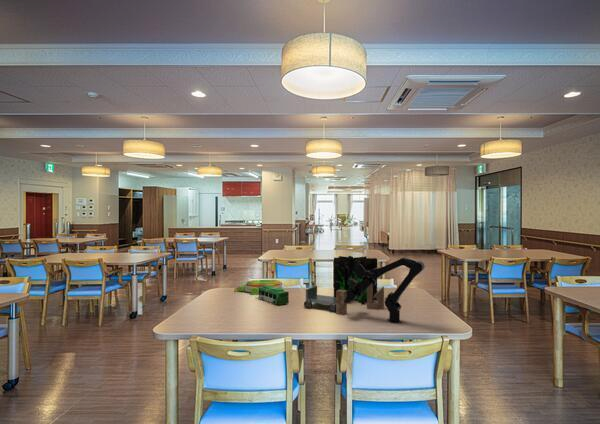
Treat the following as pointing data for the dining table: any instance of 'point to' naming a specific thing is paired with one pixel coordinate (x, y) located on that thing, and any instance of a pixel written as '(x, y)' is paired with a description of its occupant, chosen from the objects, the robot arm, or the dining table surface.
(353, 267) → the decorative plant
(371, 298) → the wooden block
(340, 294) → the brown rectangular pillar
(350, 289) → the robot arm
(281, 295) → the toy bus
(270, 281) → the green piece
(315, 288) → the trolley
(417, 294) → the dining table surface
